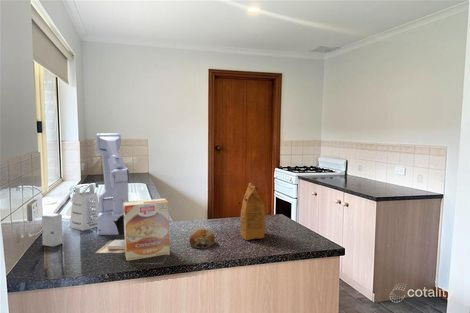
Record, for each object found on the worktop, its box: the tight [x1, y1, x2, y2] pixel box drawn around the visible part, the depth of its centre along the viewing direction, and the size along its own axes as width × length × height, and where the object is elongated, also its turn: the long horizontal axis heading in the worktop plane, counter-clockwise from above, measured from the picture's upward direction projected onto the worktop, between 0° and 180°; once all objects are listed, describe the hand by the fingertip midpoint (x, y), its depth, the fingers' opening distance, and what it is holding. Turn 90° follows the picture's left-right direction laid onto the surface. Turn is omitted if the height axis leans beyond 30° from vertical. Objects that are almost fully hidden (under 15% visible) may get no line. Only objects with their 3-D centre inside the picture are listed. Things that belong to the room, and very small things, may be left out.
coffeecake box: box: [123, 198, 171, 261], centre depth 116 cm, size 15×7×20 cm, turn 114°
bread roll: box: [189, 228, 216, 249], centre depth 128 cm, size 10×10×8 cm
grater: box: [69, 183, 100, 231], centre depth 155 cm, size 10×10×20 cm
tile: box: [107, 239, 125, 250], centre depth 125 cm, size 7×2×7 cm
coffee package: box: [239, 182, 266, 241], centre depth 135 cm, size 10×12×22 cm
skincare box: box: [41, 212, 63, 247], centre depth 130 cm, size 6×4×12 cm
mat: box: [94, 239, 125, 254], centre depth 125 cm, size 14×14×1 cm
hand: (122, 234), depth 127 cm, fingers closed
